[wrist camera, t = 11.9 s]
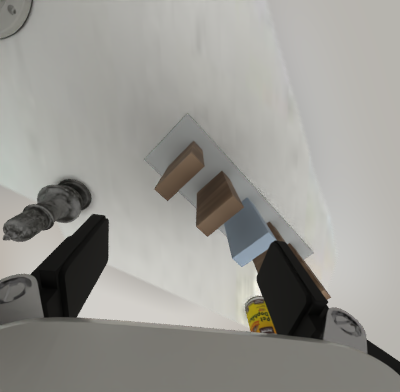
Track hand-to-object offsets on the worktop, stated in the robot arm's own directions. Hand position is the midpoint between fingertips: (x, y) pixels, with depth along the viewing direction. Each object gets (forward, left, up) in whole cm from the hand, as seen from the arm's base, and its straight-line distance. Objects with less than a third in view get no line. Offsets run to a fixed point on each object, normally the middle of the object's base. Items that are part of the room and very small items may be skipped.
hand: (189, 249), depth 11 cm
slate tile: (+10, 0, -19) cm, 22 cm away
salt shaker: (-10, -17, -20) cm, 28 cm away
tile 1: (-2, 0, -19) cm, 19 cm away
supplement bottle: (+30, -11, -20) cm, 37 cm away
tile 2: (+4, 0, -19) cm, 19 cm away
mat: (+10, 0, -20) cm, 22 cm away
